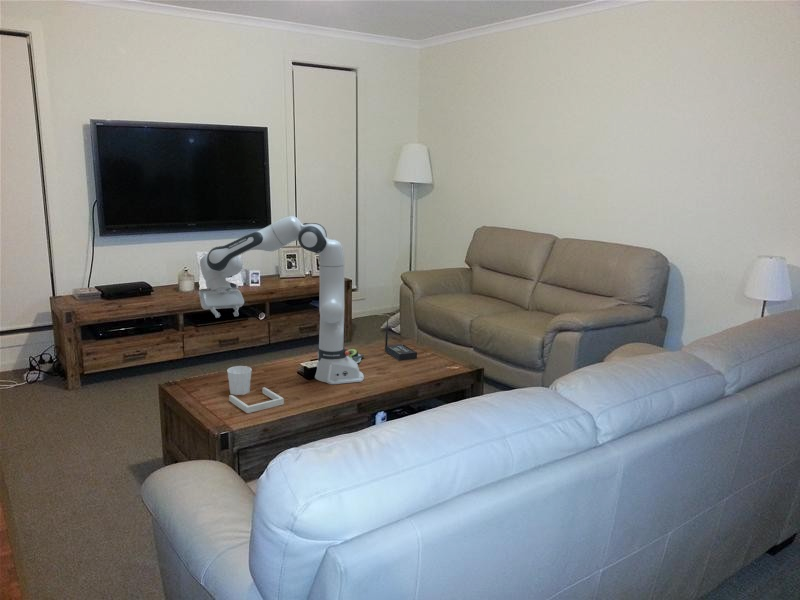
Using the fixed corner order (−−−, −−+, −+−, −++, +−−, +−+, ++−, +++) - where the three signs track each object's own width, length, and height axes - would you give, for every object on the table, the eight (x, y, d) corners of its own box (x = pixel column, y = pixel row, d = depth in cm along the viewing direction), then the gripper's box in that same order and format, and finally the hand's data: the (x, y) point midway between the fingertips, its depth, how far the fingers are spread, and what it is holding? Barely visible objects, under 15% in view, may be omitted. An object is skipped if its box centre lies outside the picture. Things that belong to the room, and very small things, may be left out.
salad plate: (362, 369, 301) (362, 359, 300) (325, 367, 301) (325, 358, 300) (364, 356, 320) (365, 348, 318) (330, 354, 320) (330, 346, 318)
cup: (253, 395, 261) (253, 373, 258) (228, 397, 257) (228, 374, 255) (250, 386, 270) (250, 365, 268) (226, 388, 266) (226, 366, 264)
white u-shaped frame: (229, 401, 253) (229, 395, 253) (265, 392, 264) (265, 387, 263) (247, 413, 242) (247, 407, 242) (283, 404, 253) (283, 398, 252)
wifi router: (419, 359, 320) (421, 327, 317) (395, 361, 314) (397, 329, 310) (401, 347, 337) (402, 317, 334) (378, 350, 331) (379, 319, 327)
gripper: (200, 285, 264) (210, 314, 260) (240, 284, 279) (250, 311, 276) (193, 292, 267) (203, 321, 263) (233, 291, 283) (243, 318, 279)
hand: (227, 316), depth 270 cm, fingers open, 8 cm apart
